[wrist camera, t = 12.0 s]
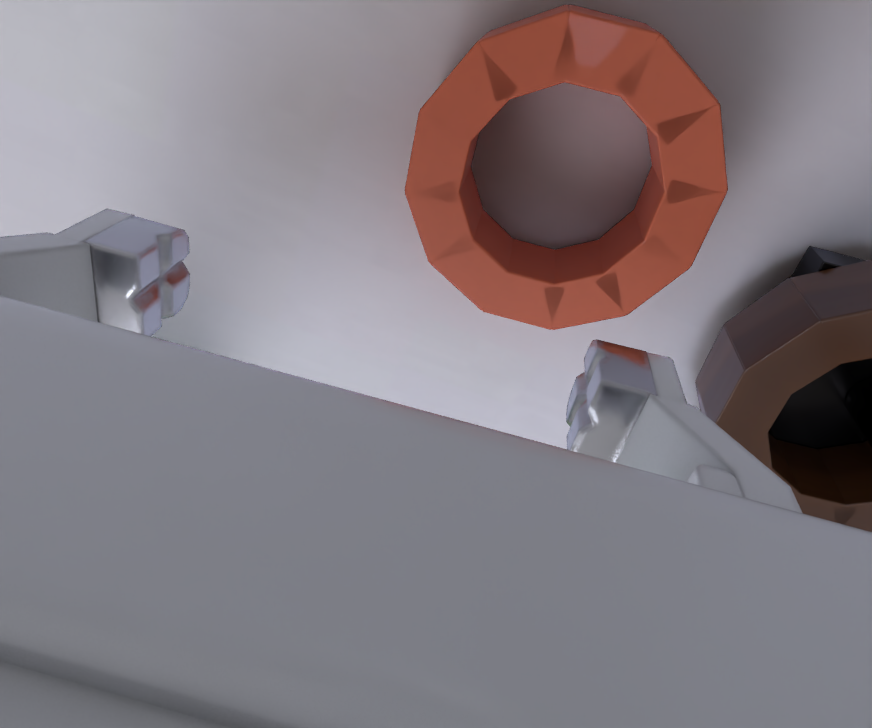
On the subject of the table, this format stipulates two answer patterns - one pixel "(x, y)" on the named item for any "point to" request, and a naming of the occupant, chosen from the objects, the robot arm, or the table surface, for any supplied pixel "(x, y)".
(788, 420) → the peg stand
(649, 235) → the terracotta ring
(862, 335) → the walnut ring
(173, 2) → the table surface
